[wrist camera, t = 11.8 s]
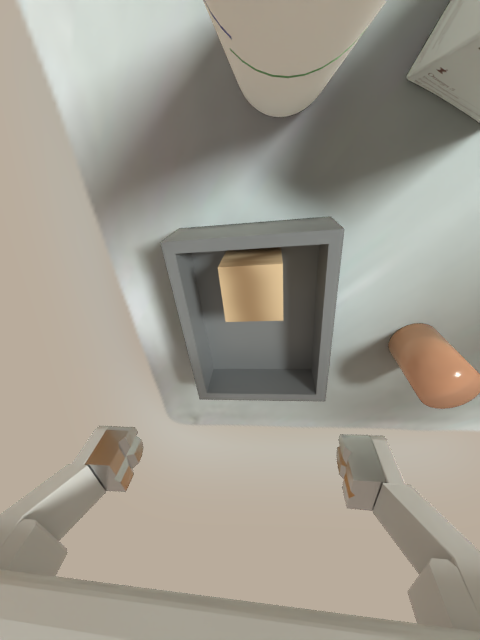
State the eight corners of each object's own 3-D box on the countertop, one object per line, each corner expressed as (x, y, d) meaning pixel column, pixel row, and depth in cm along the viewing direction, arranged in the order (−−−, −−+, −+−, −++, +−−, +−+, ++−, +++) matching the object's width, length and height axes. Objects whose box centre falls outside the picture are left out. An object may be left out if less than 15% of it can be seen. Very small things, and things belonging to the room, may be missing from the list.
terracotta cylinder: (444, 322, 27) (493, 368, 21) (430, 359, 30) (471, 409, 24) (393, 323, 28) (427, 368, 22) (384, 359, 30) (412, 408, 24)
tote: (330, 216, 23) (344, 229, 18) (318, 369, 32) (325, 401, 28) (179, 228, 25) (160, 242, 20) (208, 369, 34) (199, 399, 30)
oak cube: (280, 245, 24) (282, 263, 19) (281, 294, 26) (283, 320, 22) (227, 249, 24) (217, 267, 20) (232, 296, 27) (225, 322, 23)
